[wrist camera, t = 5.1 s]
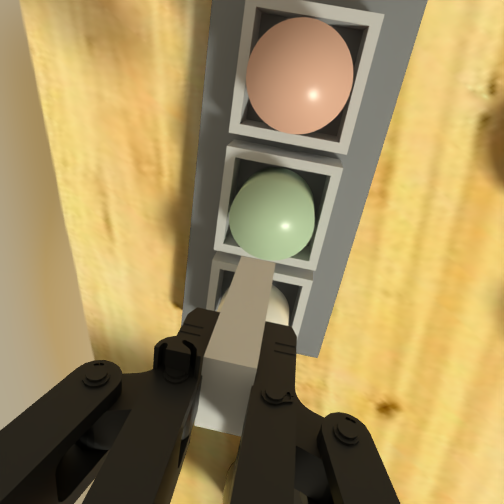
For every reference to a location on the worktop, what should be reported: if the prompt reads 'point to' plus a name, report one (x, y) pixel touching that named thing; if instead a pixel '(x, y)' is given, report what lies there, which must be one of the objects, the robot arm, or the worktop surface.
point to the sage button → (273, 214)
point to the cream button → (271, 307)
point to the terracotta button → (299, 75)
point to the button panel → (294, 150)
